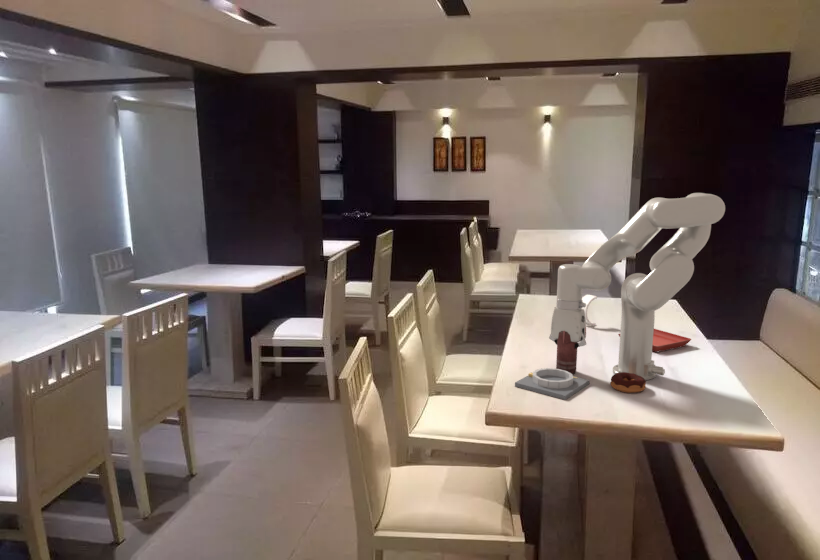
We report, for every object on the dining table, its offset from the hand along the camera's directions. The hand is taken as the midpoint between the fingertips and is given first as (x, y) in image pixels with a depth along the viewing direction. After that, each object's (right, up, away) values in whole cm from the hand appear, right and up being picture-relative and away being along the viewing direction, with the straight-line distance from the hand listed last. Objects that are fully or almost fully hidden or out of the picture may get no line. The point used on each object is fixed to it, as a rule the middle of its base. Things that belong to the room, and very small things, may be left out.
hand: (566, 361), depth 185 cm
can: (0, -4, +1) cm, 4 cm away
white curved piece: (+23, +7, +55) cm, 60 cm away
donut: (+15, -6, -13) cm, 20 cm away
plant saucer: (+40, +2, +30) cm, 49 cm away
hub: (-7, -6, -10) cm, 14 cm away
